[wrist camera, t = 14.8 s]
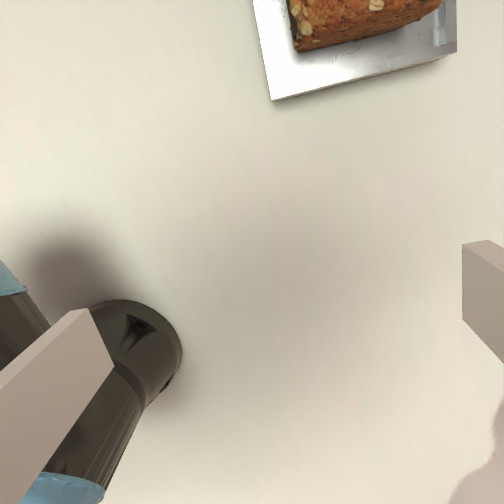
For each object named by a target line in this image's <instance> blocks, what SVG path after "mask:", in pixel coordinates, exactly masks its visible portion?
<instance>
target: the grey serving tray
mask: <svg viewBox="0 0 504 504" xmlns="http://www.w3.org/2000/svg"><path fill="white" fill-rule="evenodd" d="M253 4H254V9H255V15H256V20H257V25H258V31H259V36H260V41H261V46H262V52H263V57H264V62H265V67H266V73H267V78H268V83H269V89H270V94H271V99H272V102H275V101H279V100H283V99H286V98H290V97H294V96H298V95H302V94H306V93H310V92H314V91H318V90H321V89H325V88H329V87H333V86H337V85H341V84H345V83H349V82H352V81H356V80H360V79H364V78H368V77H372V76H376V75H380V74H384V73H387V72H391V71H395V70H399V69H403V68H407V67H411V66H415V65H419V64H422V63H426V62H430V61H434V60H438V59H441V58H443V57H446V56H448V55H451V54H453V53H455V52H457V24H456V0H443V3H442V4H441V5H440V7H439V8H437V9H436V10H434V11H432V12H431V13H429V14H428V15H426V16H424V17H422V19H421V20H420V21H416V22H413V23H410V24H408V25H405V26H403V27H401V28H398V29H395V30H393V31H389V32H386V33H383V34H380V35H376V36H373V37H369V38H366V39H362V40H353V41H349V42H345V43H342V44H338V45H330V46H327V47H325V48H318V49H313V50H309V51H303V52H296V50H295V49H293V43H292V33H291V28H290V20H289V14H288V9H287V4H286V0H253Z"/></svg>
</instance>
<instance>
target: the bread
mask: <svg viewBox="0 0 504 504" xmlns="http://www.w3.org/2000/svg"><path fill="white" fill-rule="evenodd" d="M442 3H443V0H286V4H287V9H288V14H289V20H290V28H291V33H292V43H293V49H295V50H296V52H303V51H309V50H313V49H318V48H325V47H327V46H330V45H338V44H342V43H345V42H349V41H353V40H362V39H366V38H369V37H373V36H376V35H380V34H383V33H386V32H389V31H393V30H395V29H398V28H401V27H403V26H405V25H408V24H410V23H413V22H416V21H420V20H421V19H422V17H424V16H426V15H428V14H429V13H431V12H432V11H434V10H436V9H437V8H439V7H440V5H441V4H442Z"/></svg>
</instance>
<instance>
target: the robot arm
mask: <svg viewBox="0 0 504 504" xmlns="http://www.w3.org/2000/svg"><path fill="white" fill-rule="evenodd" d="M26 291H28V289H27V287H26V286H22V285H21V284H20V283H19V281H18V280H17V279H16V278H15V277H14V275H13V274H12V273H11V272H10V270H9V269H8V268H7V267H6V266H5V264H4V263H3V262H2V261H1V260H0V504H98V503H100V502H101V501H102V499H103V498H104V495H105V492H106V490H107V487H108V485H109V483H110V481H111V479H112V477H113V475H114V472H115V470H116V468H117V466H118V464H119V462H120V460H121V457H122V455H123V453H124V451H125V449H126V447H127V445H128V442H129V440H130V438H131V436H132V434H133V432H134V430H135V427H136V425H137V423H138V421H139V419H140V417H141V415H142V413H143V411H144V409H145V408H146V407H147V406H148V405H149V404H150V403H151V402H152V401H153V400H154V399H155V398H156V397H157V396H158V394H159V393H161V392H162V391H163V390H164V389H165V388H166V387H167V386H168V385H169V384H170V383H171V381H172V380H173V378H174V376H175V373H176V371H177V369H178V367H179V364H180V360H181V346H180V342H179V339H178V337H177V335H176V333H175V331H174V329H173V328H172V326H171V325H170V324H169V323H168V322H167V321H166V320H165V319H164V318H163V317H162V316H161V315H160V314H158V313H157V312H156V311H154V310H152V309H151V308H149V307H147V306H144V305H142V304H139V303H136V302H132V301H126V300H111V301H105V302H102V303H99V304H97V305H95V306H93V307H92V308H90V309H89V310H88V308H84V309H78V310H72V311H69V312H68V313H67V314H66V315H64V316H63V317H62V318H61V319H60V320H59V321H58V322H56V323H55V324H54V325H53V326H52V327H51V326H50V324H49V323H48V322H47V320H46V319H45V317H44V316H43V315H42V313H41V312H40V310H39V309H38V308H37V306H36V305H35V303H34V302H33V301H32V299H31V298H30V296H29V295H28V294H27V292H26ZM462 314H463V320H464V321H465V322H466V323H467V324H468V326H469V327H470V328H471V329H472V330H473V331H474V332H475V333H476V334H477V335H478V336H479V337H480V339H481V340H482V341H483V342H484V343H485V344H486V345H487V346H488V347H489V348H490V349H491V350H492V351H493V353H494V354H495V355H496V356H497V357H498V358H499V359H500V360H501V361H502V362H503V363H504V248H502V247H501V246H499V245H497V244H495V243H493V242H492V241H490V240H485V241H479V242H473V243H467V244H462Z"/></svg>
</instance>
